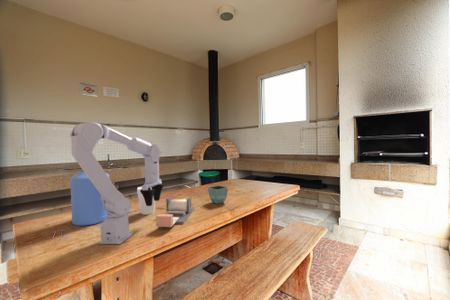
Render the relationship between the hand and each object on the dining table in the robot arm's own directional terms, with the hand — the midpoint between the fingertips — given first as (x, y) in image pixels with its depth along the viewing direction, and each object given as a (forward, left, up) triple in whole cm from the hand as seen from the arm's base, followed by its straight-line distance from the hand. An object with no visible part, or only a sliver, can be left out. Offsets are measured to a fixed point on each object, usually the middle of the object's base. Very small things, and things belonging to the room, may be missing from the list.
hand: (153, 203), depth 90 cm
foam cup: (+15, +10, -10) cm, 20 cm away
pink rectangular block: (-1, -7, -8) cm, 11 cm away
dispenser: (+11, -7, -9) cm, 16 cm away
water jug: (+4, +32, -10) cm, 34 cm away
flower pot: (+34, -24, -10) cm, 43 cm away
